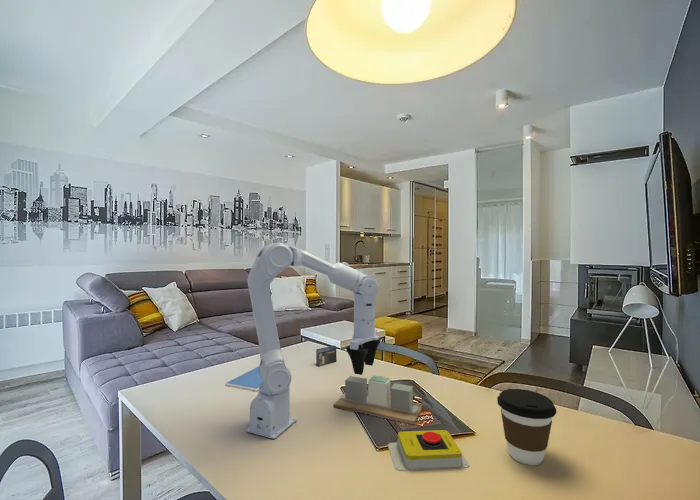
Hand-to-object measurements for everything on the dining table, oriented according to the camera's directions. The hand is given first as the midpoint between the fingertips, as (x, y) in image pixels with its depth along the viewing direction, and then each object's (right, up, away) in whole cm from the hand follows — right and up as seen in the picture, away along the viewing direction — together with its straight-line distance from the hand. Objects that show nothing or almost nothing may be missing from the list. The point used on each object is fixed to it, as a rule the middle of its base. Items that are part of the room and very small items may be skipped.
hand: (363, 369), depth 93 cm
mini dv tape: (-12, -10, +34) cm, 38 cm away
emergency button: (+12, -11, -21) cm, 27 cm away
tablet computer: (-34, -11, +21) cm, 41 cm away
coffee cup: (+33, -11, -22) cm, 41 cm away
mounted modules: (+4, -9, 0) cm, 10 cm away
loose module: (+4, -9, 0) cm, 10 cm away
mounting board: (+4, -10, 0) cm, 11 cm away
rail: (+4, -10, 0) cm, 11 cm away
